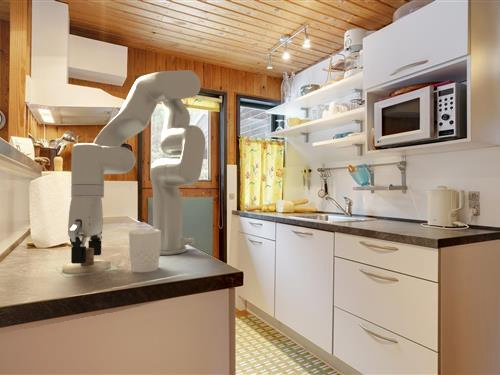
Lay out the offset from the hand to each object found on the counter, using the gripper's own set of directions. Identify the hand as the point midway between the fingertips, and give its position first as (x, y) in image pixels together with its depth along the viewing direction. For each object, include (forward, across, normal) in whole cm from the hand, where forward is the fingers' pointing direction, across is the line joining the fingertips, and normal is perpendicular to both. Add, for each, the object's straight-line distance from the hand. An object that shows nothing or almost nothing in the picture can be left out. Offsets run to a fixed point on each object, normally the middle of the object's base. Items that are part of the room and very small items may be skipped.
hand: (87, 258), depth 80 cm
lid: (+2, 0, 0) cm, 2 cm away
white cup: (+3, +1, +15) cm, 15 cm away
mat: (+3, 0, 0) cm, 3 cm away
